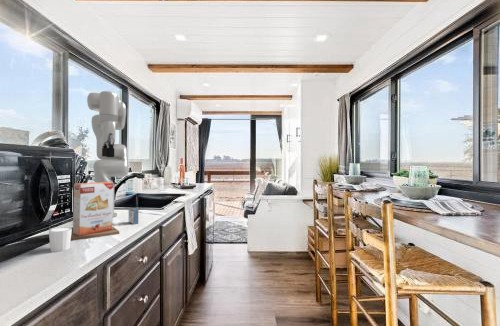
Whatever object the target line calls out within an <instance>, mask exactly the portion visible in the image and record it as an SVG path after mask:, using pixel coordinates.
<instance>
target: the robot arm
mask: <svg viewBox="0 0 500 326" xmlns="http://www.w3.org/2000/svg"><path fill="white" fill-rule="evenodd" d="M86 98H87V100H86V102H87V107H88V109H89V110H91V111H94V112H98V113H99V114H95V115H93V116H91V120H90V121H91V128H92V132H93V133H94V134H93V135H94V136H95V139H96V156H97V158H98V160H96V161H95V162H94V163H93V175H94V183H101V182H111V183H113V216H112V218H115V217H117V216H118V213H117V212H115V184H114V182H113V180H111V178H113V177H114V178H115V177H120V178H121V177H126V176H127V175H128V174H129V155H128V148H127V146H126V145H125V144H123V143H122V144H121V143H120V144H119V143H116V131H122V130H123V129H125V125H126V117H127V107H126V103H125V102H124V101H122V100H121V99H120V97H119V95H118V94H117V92H114V91H109V90H107V91H106V90H104V91H103V90H102V91H101V92H90V93H88V94H87V97H86Z"/></svg>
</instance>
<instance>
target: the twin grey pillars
mask: <svg viewBox="0 0 500 326" xmlns="http://www.w3.org/2000/svg"><path fill="white" fill-rule="evenodd" d="M128 222H129V223H130V224H132V225H138V224H139V209H137V208H135V207H131V208H129V209H128Z"/></svg>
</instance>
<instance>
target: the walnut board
mask: <svg viewBox="0 0 500 326" xmlns="http://www.w3.org/2000/svg"><path fill="white" fill-rule="evenodd" d="M111 235H113V236H114V235H120V231H119V230H118V229H117V228H116V227H114V226H112V230H106V231H101V232H96V233H91V234H86V235H80V236H79V235H76V234H73V231H72V232H71V240H70V242H72V241H79V240H85V239H92V238H93V239H94V238H99V237H105V236H111Z"/></svg>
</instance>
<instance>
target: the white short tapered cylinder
mask: <svg viewBox="0 0 500 326" xmlns="http://www.w3.org/2000/svg"><path fill="white" fill-rule="evenodd" d="M71 232H73V227H72V228H71V227H57V228H52V229H49V230H48V238H49V239H48V240H49V247H50V251H51V252H52V253H53V252H55V253H56V252H57V253H58V252H63V251H68V250H69V249H70V247H71V241H70V240H71Z"/></svg>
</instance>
